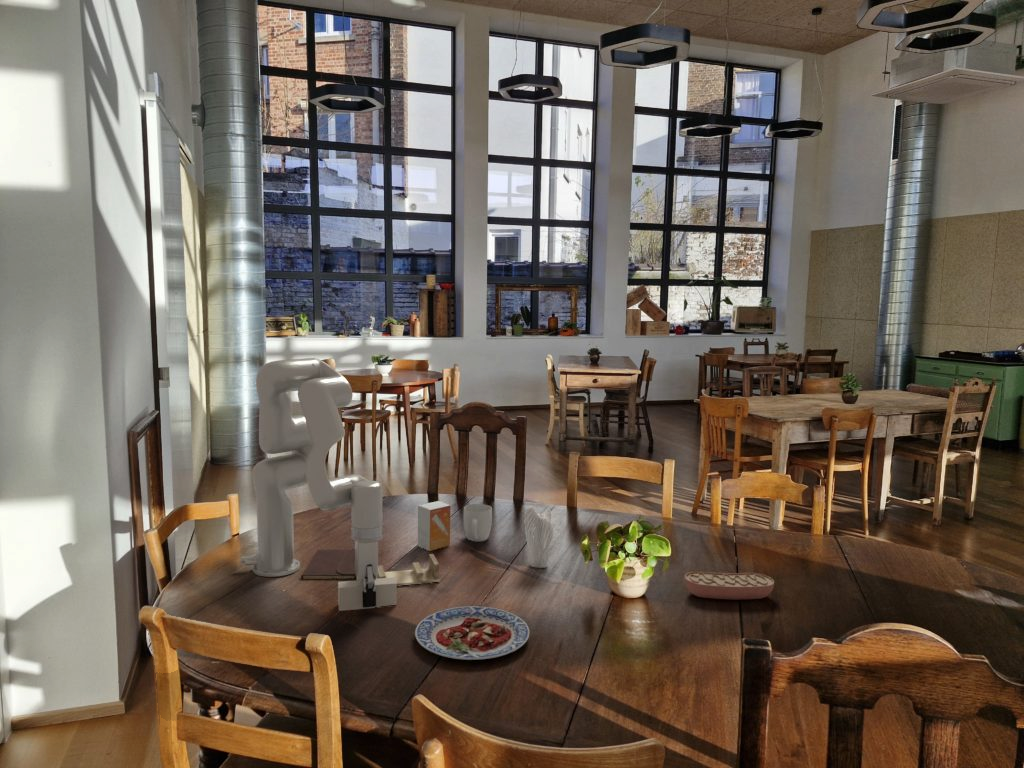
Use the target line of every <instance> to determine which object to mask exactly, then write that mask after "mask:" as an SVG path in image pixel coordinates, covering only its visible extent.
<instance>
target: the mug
mask: <svg viewBox="0 0 1024 768" xmlns="http://www.w3.org/2000/svg"><path fill="white" fill-rule="evenodd" d="M462 519H463V529H464V533H465V536H466V539H467V540H469V541H470V540H471V541H470V542H477V543H478V542H485V541H487V540H488V539H489V538H490V537H489V536H490V533H491V529H492V523H493V522H492V521H493V508H492V506H491V505H488V504H482V503H472V504H468V505H465V506H463V518H462Z"/></svg>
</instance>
